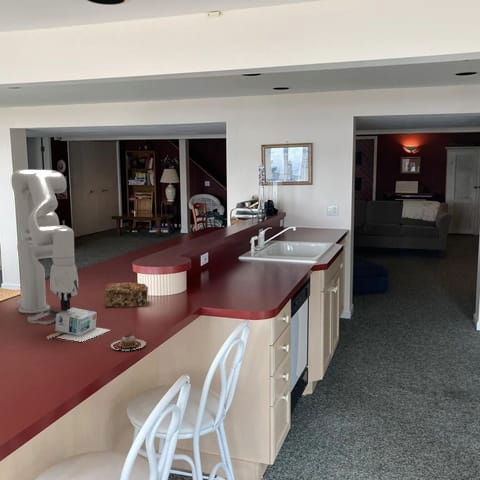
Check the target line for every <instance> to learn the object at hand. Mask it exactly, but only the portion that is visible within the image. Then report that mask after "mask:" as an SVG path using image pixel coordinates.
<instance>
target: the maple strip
mask: <svg viewBox="0 0 480 480" xmlns="http://www.w3.org/2000/svg"><path fill="white" fill-rule="evenodd" d="M63 333H64V332H59V331H56V332H55V333H51V334H49V335H47V336H46V339H47V338H48V339H47V340H50V339H49V338H51V339H53V338H52V337H54V338H56V337H55V336H57V337H59V336H61V335H60V334H62V335H64V334H65V333H64V334H63ZM58 335H59V336H58Z"/></svg>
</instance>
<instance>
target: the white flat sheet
mask: <svg viewBox="0 0 480 480" xmlns="http://www.w3.org/2000/svg"><path fill="white" fill-rule="evenodd" d="M106 332H107V333H109V332H111V329H108V328H101V327H96V328H95V329H92V330H90V331H88V332H86V333H85V334H83V335H81V336H78V335H73V334H69V333H64V334H62V335H59V336H57V337H56V339H57V338H62V339H67V340H74V341H79V342H81V341H82V342H83V341H86V340H88V339H90V340H92V339H91V338H93V339H94V337H95V338H97V337H99V335H100V336H102V335H105V334H107V333H106ZM104 333H105V334H104ZM96 336H97V337H96ZM62 339H61V340H62ZM67 340H66V341H67ZM88 341H89V340H88ZM86 342H87V341H86ZM83 343H84V342H83Z"/></svg>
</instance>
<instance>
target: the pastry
mask: <svg viewBox="0 0 480 480" xmlns="http://www.w3.org/2000/svg"><path fill="white" fill-rule="evenodd" d="M136 341H138V342H140V343H141V346H140V345H139V346H138V347H137V345H138V344H137V343H136ZM118 342H120V344H119V345H118V346H119V347H120V348H121V346H122V348H121V349H122V350H121V351H120V352H124V351H125V352H131V351H132V350H135V351H137V350H136V349H139V350H141V349H142V348H144V347H145V346H146V345H147V342H146V341H145V340H142V339H140V338H139V339H138V338H136V337H135V336H134V335H133V334H132V333H128V332H126V333H124V334H123V336H122V338H121V339H119V340H116V341H114V342H112V343H111V344H110V349H113V350H114V351H115V350H116V351H118V350H119V349H120V348H118V349H115V348H114V347H113V345H114V344H116V343H118ZM127 347H128V348H127ZM129 347H134V348H131V349H132V350H131V351H130V348H129ZM125 348H126V349H125ZM135 348H136V349H135ZM140 348H141V349H140Z"/></svg>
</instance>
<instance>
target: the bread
mask: <svg viewBox="0 0 480 480" xmlns="http://www.w3.org/2000/svg"><path fill="white" fill-rule="evenodd" d="M148 293H149V287H148V286H147V285H146V284H145V283H138V282H111V283H110V282H108V284H106V285H105V287H104V306H105V307H108V308H110V307H113V308H114V307H115V308H121V307H122V308H132V307H134V308H135V307H146V306H147V303H148Z"/></svg>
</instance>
